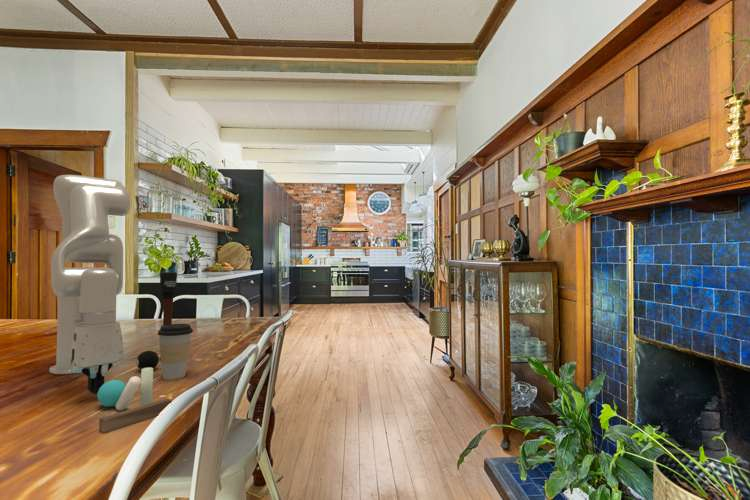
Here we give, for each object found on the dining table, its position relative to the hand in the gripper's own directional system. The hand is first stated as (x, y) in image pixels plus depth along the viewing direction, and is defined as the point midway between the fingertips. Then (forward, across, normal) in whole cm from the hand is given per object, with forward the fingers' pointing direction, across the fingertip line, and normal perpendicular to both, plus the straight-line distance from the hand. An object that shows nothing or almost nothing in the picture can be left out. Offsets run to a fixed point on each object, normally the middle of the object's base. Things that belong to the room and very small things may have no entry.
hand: (95, 392), depth 98 cm
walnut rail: (+2, -1, -22) cm, 22 cm away
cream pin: (+1, 0, -13) cm, 13 cm away
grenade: (+2, +30, +21) cm, 37 cm away
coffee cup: (+2, +21, +1) cm, 21 cm away
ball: (-2, 0, -9) cm, 9 cm away
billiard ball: (+2, +20, +14) cm, 24 cm away
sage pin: (+2, +4, -16) cm, 17 cm away
